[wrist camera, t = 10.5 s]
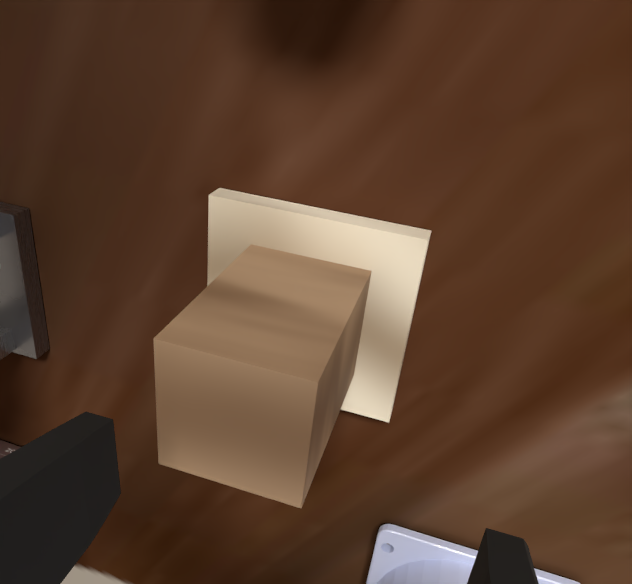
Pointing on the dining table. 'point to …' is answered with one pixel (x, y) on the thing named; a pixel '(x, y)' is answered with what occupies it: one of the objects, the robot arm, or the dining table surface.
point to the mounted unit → (20, 287)
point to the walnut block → (259, 371)
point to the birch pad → (343, 248)
